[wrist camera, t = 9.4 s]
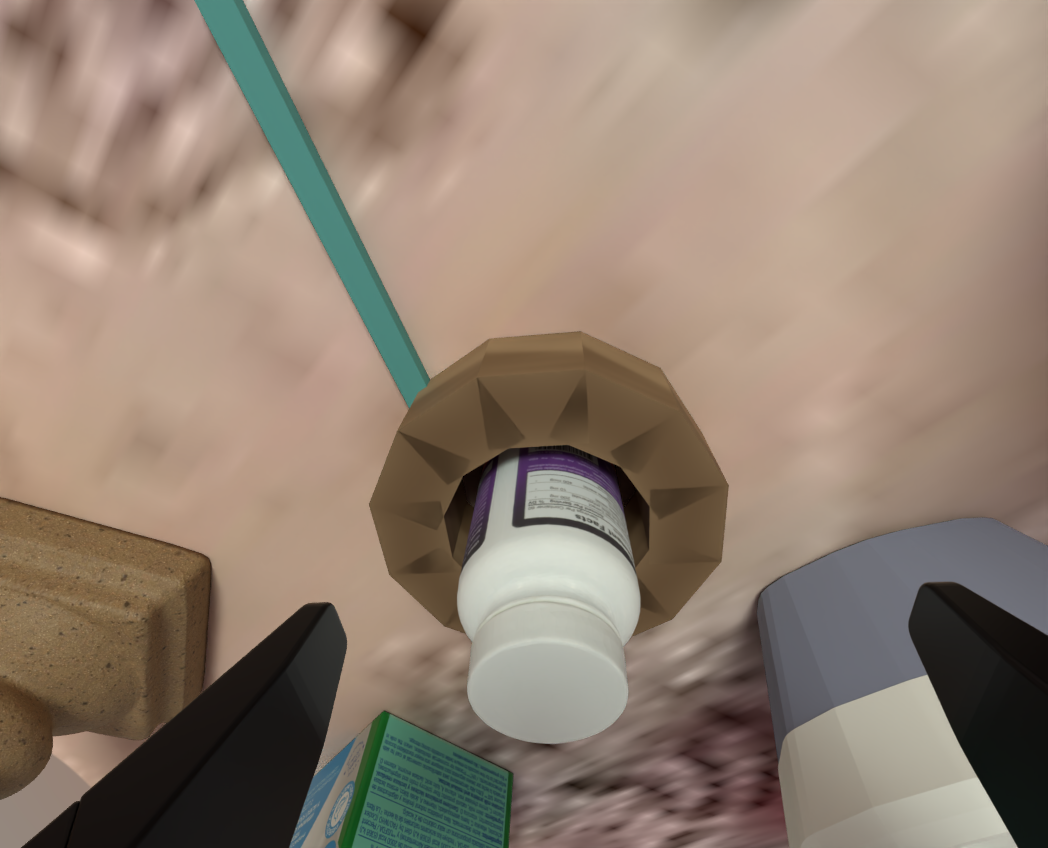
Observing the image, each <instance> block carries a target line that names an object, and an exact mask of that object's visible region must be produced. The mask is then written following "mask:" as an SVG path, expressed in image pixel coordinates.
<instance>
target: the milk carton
mask: <svg viewBox="0 0 1048 848" xmlns="http://www.w3.org/2000/svg"><path fill="white" fill-rule="evenodd" d="M512 786H513V773H511V772H508V771H506V770H504V769H502V768H500V767H498V766H496V765H494V764H492V763H490V762H488V761H486V760H484V759H482V758H480V757H478V756H476V755H474V754H472V753H470V752H467V751H465V750H463V749H461V748H459V747H457V746H455V745H453V744H451V743H449V742H447V741H445V740H443V739H441V738H439V737H437V736H435V735H433V734H431V733H429V732H426V731H424V730H422V729H420V728H418V727H416V726H414V725H412V724H410V723H408V722H406V721H404V720H402V719H400V718H398V717H396V716H394V715H392V714H390V713H388V712H385V711H383V712H382V713H381V714H380V715H379V716H378V717H377V718H376V719H375V720H374V721H373V722H372V723H370V724H369V725H368V726H367V727H366V728H365V729H364V730H363V731H362V732H361V733H360V734H359V735H358V736H357V737H356V738H355V739H353V740H352V741H351V742H350V743H349V744H348V745H347V746H346V747H345V748H344V749H343V750H342V751H341V752H340V753H339V754H338V755H336V756H335V757H334V758H333V759H332V760H331V761H330V762H329V763H328V764H327V765H326V766H325V767H324V768H323V769H322V770H321V771H319V772H318V773H317V774H316V775H315V776H314V777H313V779H312V782H311V785H310V788H309V791H308V794H307V797H306V800H305V803H304V806H303V809H302V812H301V814H300V817H299V820H298V823H297V826H296V829H295V832H294V835H293V838H292V841H291V844H290V847H289V848H509V833H510V817H511V802H512Z"/></svg>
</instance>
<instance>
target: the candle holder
mask: <svg viewBox="0 0 1048 848" xmlns="http://www.w3.org/2000/svg"><path fill="white" fill-rule="evenodd" d="M210 587H211V567H210V561H209V559H208V557H206V556H204V555H203V554H201V553H198V552H195V551H192V550H189V549H185V548H182V547H179V546H176V545H173V544H170V543H166V542H163V541H159V540H155V539H152V538H148V537H144V536H141V535H137V534H133V533H130V532H126V531H122V530H119V529H115V528H112V527H108V526H104V525H101V524H97V523H93V522H90V521H86V520H82V519H79V518H75V517H71V516H68V515H64V514H61V513H57V512H53V511H50V510H46V509H42V508H39V507H35V506H31V505H28V504H24V503H20V502H17V501H13V500H10V499H6V498H1V497H0V800H1V799H4V798H7V797H9V796H11V795H13V794H15V793H17V792H18V791H20V790H21V789H23V788H24V787H26V786H27V785H28V784H30V783H31V782H32V781H33V780H34V779H35V778H36V777H37V776H38V775H39V774H40V773H41V771H42V770H43V769H44V768H45V766H46V764H47V763H48V761H49V759H50V756H51V753H52V748H53V736H62V735H69V734H75V733H80V732H84V731H89V732H94V733H99V734H104V735H109V736H114V737H120V738H126V739H131V740H143V739H145V738H148V737H149V736H150V735H151V733H152V732H153V731H154V729H155V728H156V727H157V726H158V725H159V724H161V723H167V722H169V721H170V720H171V719H172V718H173V717H174V716H176V715H177V714H178V713H179V712H180V711H181V710H183V709H184V708H185V707H186V706H187V705H188V704H190V703H191V702H192V701H193V700H194V699H195V698H197V697H198V695H199V694H200V692H201V691H202V687H203V680H204V673H205V659H206V644H207V630H208V616H209V601H210Z"/></svg>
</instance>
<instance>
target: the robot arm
mask: <svg viewBox="0 0 1048 848" xmlns="http://www.w3.org/2000/svg"><path fill="white" fill-rule="evenodd" d="M908 629H909V634H910V637H911V640H912V642H913V644H914V646H915V648H916V651H917V653H918V655H919V657H920V660H921V662H922V664H923V666H924V668H925V671H926V673H927V675H928V677H929V680H930V682H931V684H932V686H933V688H934V691H935V693H936V695H937V697H938V699H939V702H940V704H941V706H942V708H943V711H944V713H945V715H946V717H947V719H948V722H949V724H950V726H951V728H952V730H953V732H954V734H955V736H956V739H957V741H958V743H959V745H960V747H961V748H962V750H963V752H964V754H965V756H966V758H967V759H968V761H969V763H970V765H971V767H972V768H973V770H974V772H975V774H976V775H977V777H978V779H979V781H980V782H981V784H982V786H983V788H984V789H985V791H986V793H987V795H988V796H989V798H990V800H991V802H992V803H993V805H994V807H995V809H996V810H997V812H998V814H999V816H1000V817H1001V819H1002V821H1003V823H1004V824H1005V826H1006V828H1007V830H1008V831H1009V833H1010V835H1011V836H1012V838H1013V840H1014V842H1015V843H1016V845H1017V847H1018V848H1048V635H1047V634H1045V633H1043V632H1041V631H1040V630H1038V629H1036V628H1035V627H1033V626H1031V625H1029V624H1028V623H1026V622H1024V621H1023V620H1021V619H1019V618H1018V617H1016V616H1014V615H1012V614H1011V613H1009V612H1007V611H1006V610H1004V609H1002V608H1000V607H999V606H997V605H995V604H994V603H992V602H990V601H988V600H987V599H985V598H983V597H982V596H980V595H978V594H976V593H975V592H973V591H971V590H970V589H968V588H966V587H965V586H963V585H961V584H959V583H956V582H951V581H947V582H926V583H924V584H922V585H921V586H920V587H919V589H918V593H917V596H916V599H915V602H914V605H913V608H912V611H911V614H910V617H909V621H908ZM346 649H347V638H346V634H345V631H344V629H343V626H342V624H341V621H340V619H339V616H338V614H337V611H336V609H335V607H334V605H332V604H331V603H328V602H322V603H308V604H306V605H304V606H303V607H301V608H300V609H299V610H298V611H297V612H295V613H294V614H293V615H292V616H291V617H290V618H288V619H287V620H286V621H285V622H284V623H283V624H281V625H280V626H279V627H278V628H277V629H276V630H274V631H273V632H272V633H271V634H270V635H269V636H267V637H266V638H265V639H264V640H263V641H262V642H260V643H259V644H258V645H257V646H256V647H255V648H253V649H252V650H251V651H250V652H249V653H248V654H247V655H245V656H244V657H243V658H242V659H241V660H240V661H238V662H237V663H236V664H235V665H234V666H233V667H231V668H230V669H229V670H228V671H227V672H226V673H224V674H223V675H222V676H221V677H220V678H219V679H217V680H216V681H215V682H214V683H213V684H212V685H210V686H209V687H208V688H207V689H206V690H205V691H203V692H202V693H201V694H200V695H199V696H198V697H197V698H195V699H194V700H193V701H192V702H191V703H190V704H188V705H187V706H186V707H185V708H184V709H183V710H181V711H180V712H179V713H178V714H177V715H176V716H174V717H173V718H172V719H171V720H170V721H169V722H167V723H166V724H165V725H164V726H163V727H162V728H160V729H159V730H158V731H157V732H156V733H155V734H153V735H152V736H151V737H150V738H149V739H148V740H147V741H145V742H144V743H143V744H142V745H141V746H140V747H138V748H137V749H136V750H135V751H134V752H133V753H131V754H130V755H129V756H128V757H127V758H126V759H124V760H123V761H122V762H121V763H120V764H119V765H117V766H116V767H115V768H114V769H113V770H112V771H110V772H109V773H108V774H107V775H106V776H105V777H103V778H102V779H101V780H100V781H99V782H98V783H96V784H95V785H94V786H93V787H92V788H91V789H89V790H88V791H87V792H86V793H85V794H84V795H83V796H82V797H81V800H80V801H76V802H74V803H73V804H72V805H71V806H69V807H68V808H67V809H66V810H65V811H64V812H63V813H61V814H60V815H59V816H58V817H57V818H56V819H54V820H53V821H52V822H51V823H50V824H49V825H47V826H46V827H45V828H44V829H43V830H41V831H40V832H39V833H38V834H37V835H36V836H34V837H33V838H32V839H31V840H30V841H28V842H27V843H26V844H25V845H24V846H22V847H21V848H289V847H290V844H291V841H292V838H293V835H294V832H295V829H296V826H297V823H298V820H299V817H300V814H301V812H302V809H303V806H304V803H305V800H306V797H307V794H308V791H309V788H310V785H311V782H312V779H313V776H314V773H315V770H316V768H317V765H318V762H319V758H320V755H321V752H322V749H323V746H324V742H325V738H326V734H327V731H328V726H329V722H330V718H331V714H332V709H333V705H334V701H335V697H336V692H337V688H338V684H339V680H340V675H341V671H342V667H343V663H344V658H345V654H346Z"/></svg>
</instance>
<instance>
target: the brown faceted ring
mask: <svg viewBox="0 0 1048 848" xmlns="http://www.w3.org/2000/svg"><path fill="white" fill-rule="evenodd" d="M555 445H570V446H572V447H575V448H577V449H579V450H582V451H584V452H586V453H589V454H591V455H594V456H596V457H598V458H601V459H603V460H605V461H608V462H610V463H613V464H615V465H617V466H620V467H621V468H622V470H623V471H624V472H625V474H626V475H627V476H628V478H629V479H630V480H631V482H632V483H633V484H634V486H635V487H636V492H635V493H634V495H633V496H632V498H631V499H630V501H629V502H628V503H627V505H626V506H625V508H624V509H623V510H624V515H625V520H626V525H627V530H628V535H629V540H630V545H631V549H632V555H633V559H634V565H635V569H636V574H637V579H638V585H639V591H640V614H639V619H638V623H637V625H636V628H635V630H634V632H633V634H632V636H634V635H637V634H639V633H641V632H644V631H646V630H648V629H651V628H653V627H655V626H658V625H660V624H662V623H665V622H667V621H669V620H672V619H673V618H674V617H675V616H676V614H677V613H678V612H679V611H680V610H681V608H682V607H683V606H684V605H685V604H686V603H687V601H688V600H689V599H690V598H691V597H692V596H693V594H694V593H695V592H696V591H697V590H698V588H699V587H700V586H701V585H702V584H703V583H704V581H705V580H706V579H707V578H708V577H709V575H710V574H711V573H712V572H713V571H714V570H715V568H716V567H717V566H718V565H719V564H720V563H721V561H722V550H723V540H724V529H725V519H726V508H727V497H728V487H729V485H728V483H727V481H726V479H725V477H724V475H723V473H722V472H721V470H720V468H719V466H718V464H717V462H716V460H715V458H714V456H713V454H712V452H711V450H710V448H709V446H708V444H707V442H706V440H705V438H704V436H703V434H702V432H701V431H700V429H699V428H698V426H697V424H696V423H695V421H694V420H693V418H692V417H691V415H690V414H689V412H688V410H687V409H686V407H685V406H684V404H683V403H682V401H681V400H680V398H679V396H678V395H677V393H676V392H675V390H674V389H673V387H672V385H671V384H670V382H669V381H668V379H667V378H666V376H665V375H664V373H663V371H662V370H661V368H659V367H657V366H654V365H652V364H650V363H648V362H646V361H644V360H641V359H639V358H637V357H635V356H633V355H630V354H628V353H626V352H624V351H622V350H620V349H617V348H615V347H613V346H611V345H609V344H607V343H604V342H602V341H600V340H598V339H596V338H593V337H591V336H589V335H587V334H585V333H583V332H568V333H556V334H544V335H531V336H519V337H506V338H494V339H489V340H487V341H486V342H484V343H483V344H481V345H480V346H479V347H477V348H476V349H474V350H473V351H471V352H470V353H468V354H467V355H466V356H464V357H463V358H461V359H460V360H458V361H457V362H455V363H454V364H453V365H451V366H450V367H448V368H447V369H445V370H444V371H442V372H441V373H439V374H438V375H437V376H435V377H434V378H432V379H431V380H430V381H429V383H428V385H427V387H425V388H424V389H422V390H421V391H420V392H418V394H417V395H416V397H415V399H414V401H413V403H412V405H411V407H410V408H409V410H408V412H407V414H406V416H405V418H404V419H403V421H402V423H401V425H400V427H399V429H398V431H397V433H396V436H395V438H394V441H393V444H392V446H391V449H390V451H389V454H388V457H387V459H386V462H385V464H384V467H383V470H382V472H381V475H380V477H379V480H378V483H377V485H376V488H375V490H374V493H373V496H372V498H371V501H370V503H369V506H370V510H371V513H372V517H373V520H374V524H375V527H376V530H377V534H378V537H379V541H380V544H381V548H382V551H383V555H384V558H385V561H386V565H387V568H388V572H389V575H390V576H391V577H392V578H393V579H394V580H396V581H397V582H398V583H399V584H400V585H401V586H402V587H403V588H404V589H405V590H406V591H407V592H408V593H409V594H410V595H412V596H413V597H414V598H415V599H416V600H417V601H418V602H419V603H420V604H421V605H422V606H423V607H424V608H425V609H427V610H428V611H429V612H430V613H431V614H432V615H433V616H434V617H435V618H436V619H437V620H438V621H439V622H440V623H442V624H443V625H444V626H445V627H448V628H451V629H454V630H457V631H460V632H462V633H465V634H466V632H465V631H464V628H463V626H462V624H461V621H460V618H459V614H458V607H457V593H458V585H459V578H460V573H461V569H462V564H463V559H464V554H465V549H466V545H467V540H468V535H469V530H470V526H471V521H472V517H473V512H474V508H473V507H472V506H471V505H470V504H469V502H468V501H467V500H466V494H465V489H464V484H463V478H462V477H463V476H464V475H465V474H467V473H469V472H470V471H472V470H474V469H475V468H477V467H479V466H480V465H482V464H484V463H485V462H487V461H489V460H490V459H492V458H494V457H495V456H497V455H499V454H500V453H502V452H504V451H505V450H507V449H509V448H523V447H539V446H555ZM632 636H631V637H632Z"/></svg>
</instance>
